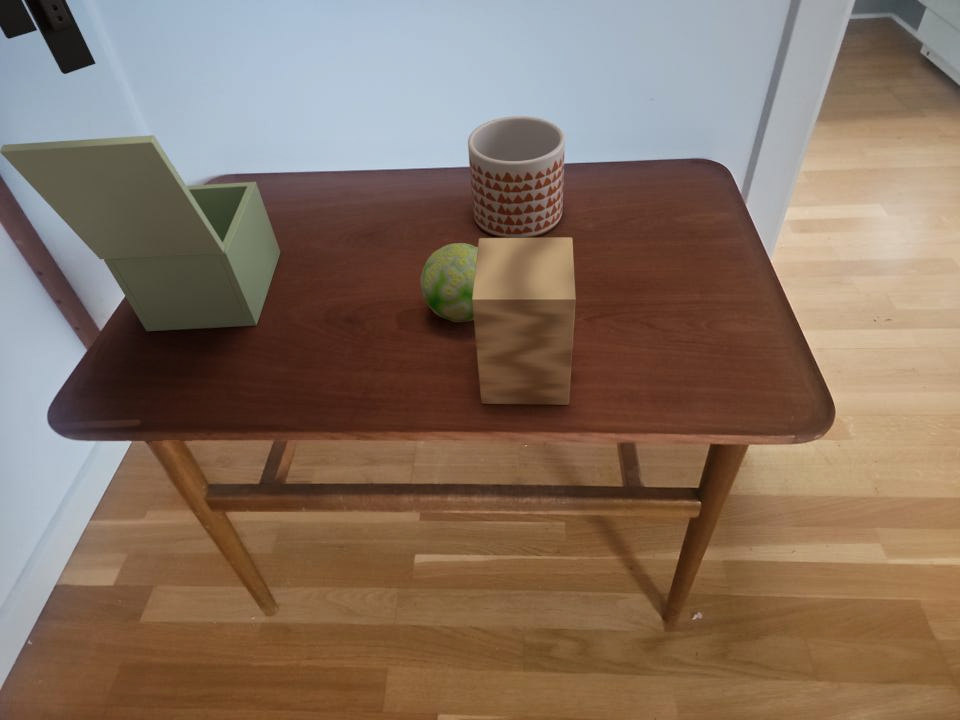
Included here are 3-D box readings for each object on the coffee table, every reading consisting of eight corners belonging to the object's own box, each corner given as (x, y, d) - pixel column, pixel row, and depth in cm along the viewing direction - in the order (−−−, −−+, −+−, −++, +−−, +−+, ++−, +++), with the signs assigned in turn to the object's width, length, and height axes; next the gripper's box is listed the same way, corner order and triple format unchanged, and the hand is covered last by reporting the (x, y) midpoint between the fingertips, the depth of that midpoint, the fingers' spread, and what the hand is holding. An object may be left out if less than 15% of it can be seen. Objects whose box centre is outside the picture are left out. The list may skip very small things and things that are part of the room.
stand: (481, 403, 74) (471, 299, 63) (486, 342, 81) (478, 237, 70) (568, 405, 73) (575, 299, 62) (566, 342, 80) (572, 236, 69)
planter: (579, 223, 97) (584, 145, 88) (498, 251, 94) (495, 173, 85) (534, 181, 106) (534, 106, 97) (459, 206, 102) (451, 130, 93)
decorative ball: (416, 333, 83) (405, 272, 76) (437, 284, 90) (429, 223, 82) (491, 343, 81) (487, 281, 74) (507, 291, 88) (505, 230, 80)
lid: (2, 144, 63) (-1, 151, 62) (154, 134, 62) (152, 142, 62) (102, 252, 77) (99, 259, 77) (224, 246, 77) (223, 252, 76)
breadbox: (182, 257, 97) (148, 188, 89) (280, 252, 97) (255, 181, 88) (146, 331, 86) (103, 260, 78) (256, 325, 86) (225, 253, 77)
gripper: (-1, -289, 39) (149, 69, 54) (-108, -277, 52) (39, 10, 67) (-144, -278, 35) (60, 101, 51) (-220, -268, 48) (-38, 33, 63)
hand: (48, 50), depth 59 cm, fingers open, 13 cm apart
